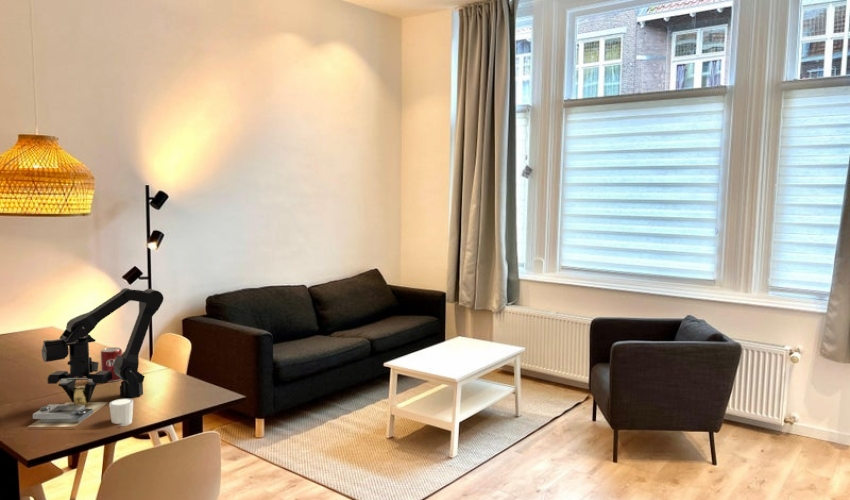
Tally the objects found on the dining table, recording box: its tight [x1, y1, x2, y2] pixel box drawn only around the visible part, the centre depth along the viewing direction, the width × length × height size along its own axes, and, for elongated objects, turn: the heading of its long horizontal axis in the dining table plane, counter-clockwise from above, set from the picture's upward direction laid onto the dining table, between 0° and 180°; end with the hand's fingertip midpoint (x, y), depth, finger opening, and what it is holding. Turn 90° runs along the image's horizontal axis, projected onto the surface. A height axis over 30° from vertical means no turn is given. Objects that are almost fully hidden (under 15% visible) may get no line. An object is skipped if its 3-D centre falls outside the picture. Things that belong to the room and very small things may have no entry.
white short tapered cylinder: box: [108, 398, 134, 427], centre depth 193 cm, size 7×7×7 cm
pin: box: [73, 385, 89, 406], centre depth 205 cm, size 4×4×6 cm
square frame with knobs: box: [32, 403, 94, 424], centre depth 194 cm, size 14×9×4 cm, turn 92°
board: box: [27, 401, 109, 431], centre depth 198 cm, size 14×22×1 cm, turn 2°
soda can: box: [100, 346, 123, 383], centre depth 237 cm, size 7×7×12 cm
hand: (81, 402), depth 205 cm, fingers closed on pin, 4 cm apart
